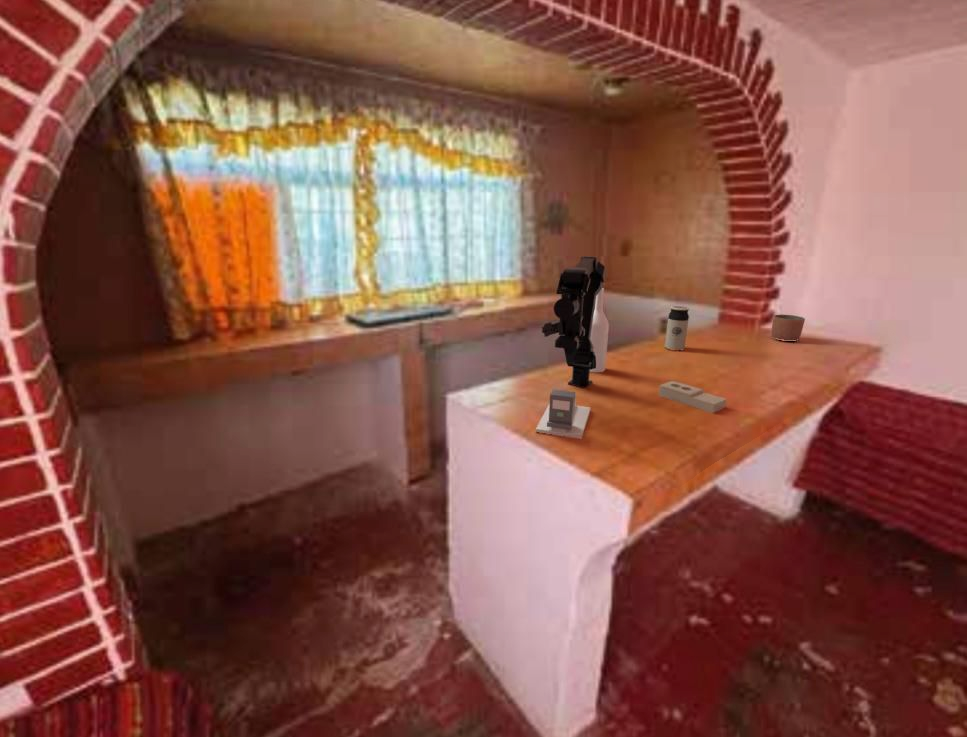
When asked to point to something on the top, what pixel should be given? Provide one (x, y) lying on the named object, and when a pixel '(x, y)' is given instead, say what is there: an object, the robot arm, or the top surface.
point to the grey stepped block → (691, 396)
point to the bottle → (599, 334)
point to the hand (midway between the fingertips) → (568, 364)
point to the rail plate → (565, 429)
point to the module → (562, 407)
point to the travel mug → (677, 328)
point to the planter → (787, 327)
